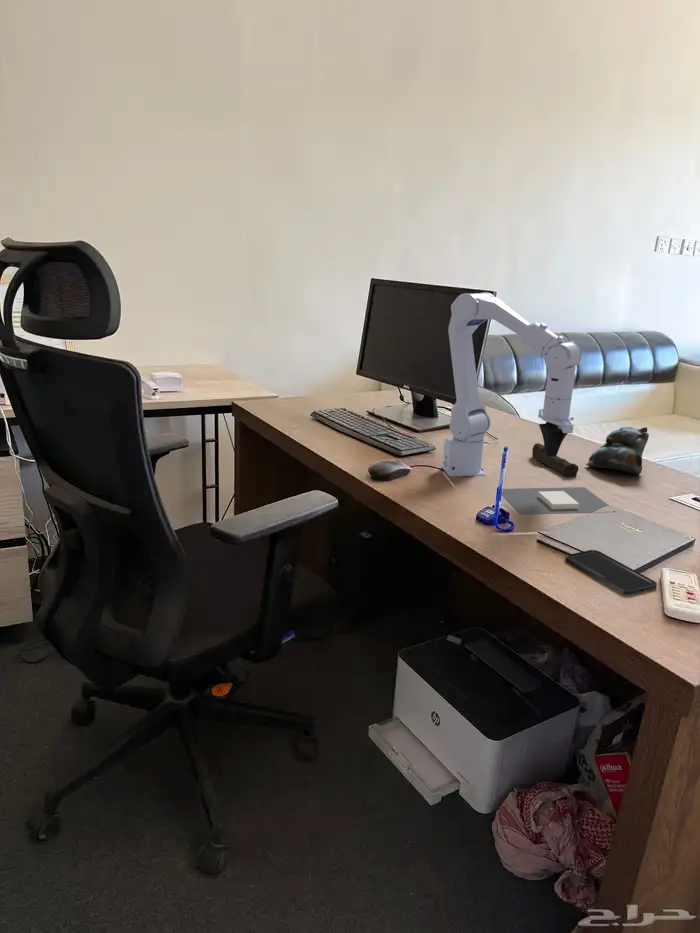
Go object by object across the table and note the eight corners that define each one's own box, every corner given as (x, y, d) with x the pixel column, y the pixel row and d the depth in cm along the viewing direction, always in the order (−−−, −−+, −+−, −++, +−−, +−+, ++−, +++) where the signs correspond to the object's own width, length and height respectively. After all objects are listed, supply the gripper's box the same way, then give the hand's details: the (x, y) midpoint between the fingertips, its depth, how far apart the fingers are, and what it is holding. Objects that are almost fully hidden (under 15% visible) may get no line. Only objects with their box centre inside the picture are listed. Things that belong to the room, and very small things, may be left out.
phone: (595, 549, 127) (660, 583, 114) (594, 554, 127) (659, 589, 115) (562, 555, 124) (625, 592, 111) (561, 561, 124) (624, 598, 111)
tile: (537, 496, 155) (552, 509, 147) (538, 491, 154) (552, 504, 147) (562, 496, 155) (578, 509, 148) (563, 491, 155) (579, 503, 147)
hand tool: (578, 479, 170) (580, 461, 168) (563, 479, 169) (565, 462, 167) (541, 457, 187) (543, 441, 186) (528, 457, 186) (530, 441, 185)
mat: (520, 516, 144) (520, 514, 144) (495, 490, 159) (495, 488, 159) (617, 513, 147) (617, 511, 147) (584, 488, 162) (584, 487, 162)
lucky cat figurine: (576, 464, 180) (592, 416, 181) (612, 480, 183) (628, 432, 184) (612, 465, 166) (630, 412, 167) (651, 482, 169) (668, 430, 170)
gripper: (589, 404, 144) (581, 465, 148) (561, 390, 158) (554, 446, 162) (558, 404, 143) (550, 465, 147) (532, 390, 157) (526, 446, 161)
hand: (550, 455), depth 155 cm, fingers closed
